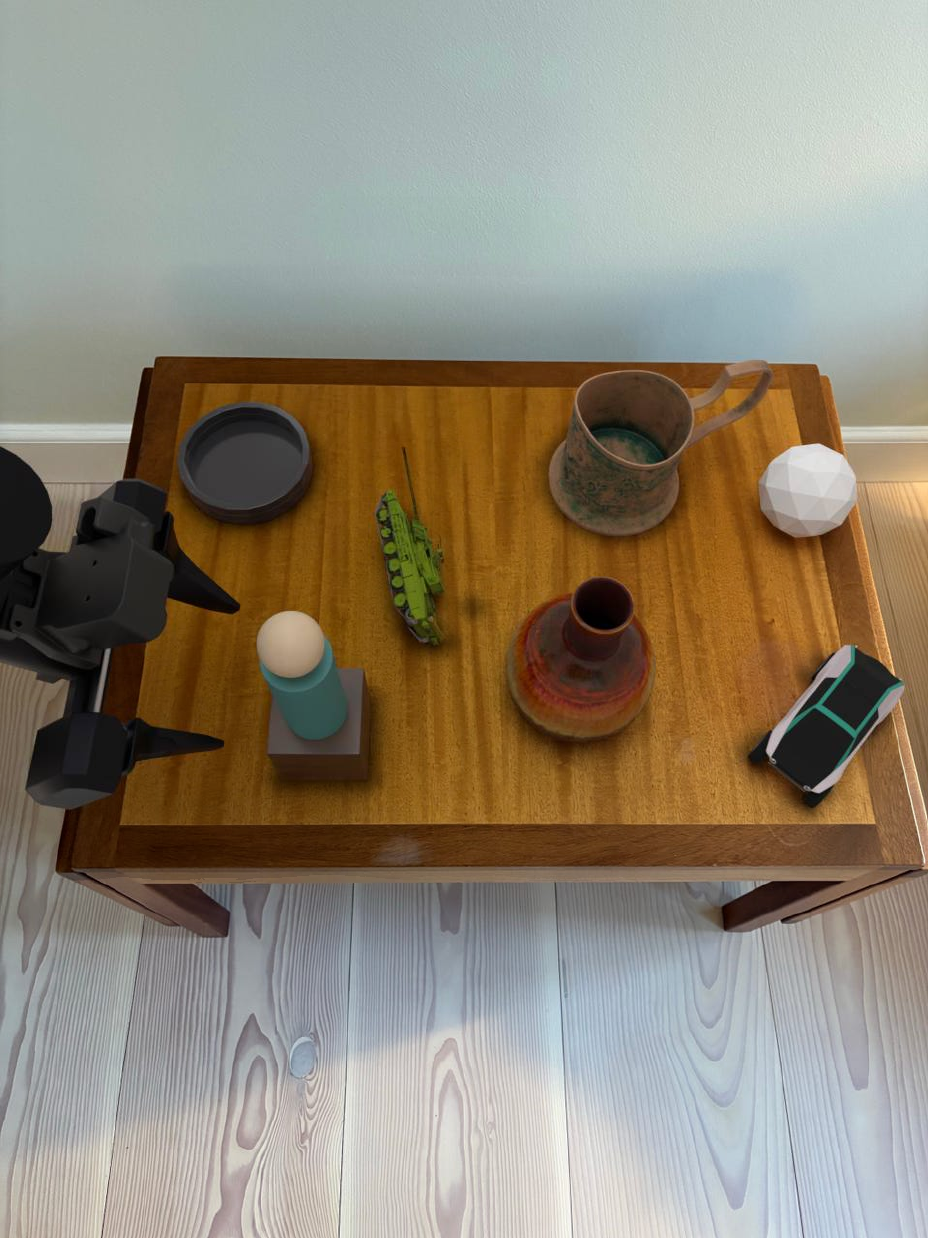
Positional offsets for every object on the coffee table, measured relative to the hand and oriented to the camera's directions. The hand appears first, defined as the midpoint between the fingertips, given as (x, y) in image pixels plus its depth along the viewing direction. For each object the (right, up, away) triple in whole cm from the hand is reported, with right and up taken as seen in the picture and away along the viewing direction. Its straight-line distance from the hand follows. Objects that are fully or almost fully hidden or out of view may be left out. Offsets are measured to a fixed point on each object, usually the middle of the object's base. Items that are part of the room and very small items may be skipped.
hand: (229, 675), depth 56 cm
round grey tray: (-4, +17, +23) cm, 28 cm away
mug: (+31, +17, +24) cm, 42 cm away
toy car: (+43, -5, +14) cm, 45 cm away
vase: (+23, -2, +15) cm, 28 cm away
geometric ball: (+42, +11, +17) cm, 47 cm away
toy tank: (+11, +10, +20) cm, 25 cm away
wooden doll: (+5, -3, +6) cm, 8 cm away
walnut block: (+4, -6, +12) cm, 14 cm away
